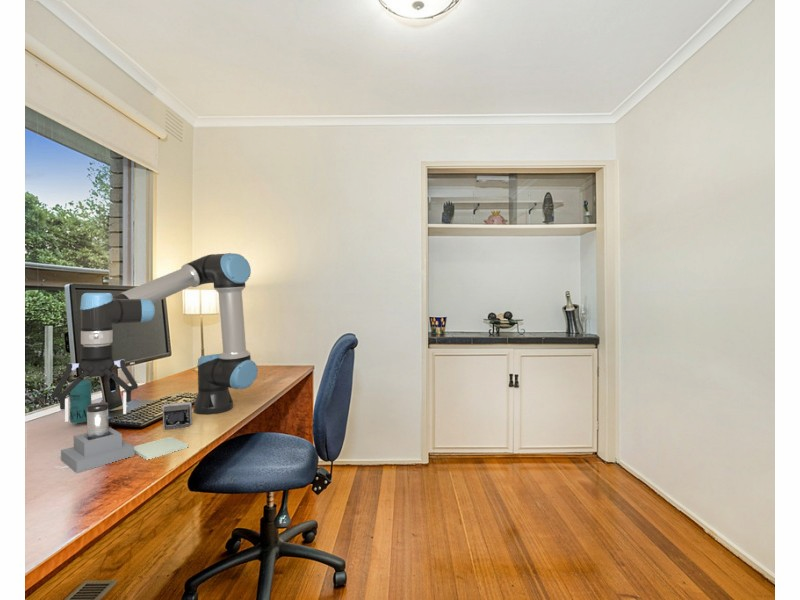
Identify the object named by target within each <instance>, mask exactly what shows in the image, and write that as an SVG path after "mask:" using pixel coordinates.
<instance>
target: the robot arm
mask: <svg viewBox="0 0 800 600" xmlns="http://www.w3.org/2000/svg"><path fill="white" fill-rule="evenodd" d="M251 274H252V273H251V265H250V262H249V261H248V260H247V258H245V256H243V255H241V254H240V253H231V252H229V253H217V254H216V253H212V254H207V255H204V256H202V257H199V258H197V259H195V260H192V261H190V262H187V263H185V264H183V265H182V266H181V268H180V269H177V270H175V271H172V272H169V273H166V274H165V275H163V276H160V277H157V278H155V279H153V280H152V279H151V280H150V281H147V282H145V283H143V284H140V285H137V286H135V287H132V288H130V289H127V290H125V291H122V292H120V293H118V294H115V295H113V294H112V293H111V292H85V293H83V294H82V295H81V298H80V306H79V310H80V345H82V346H81V347H80V362H79V363H74V362H70V361H69V362H68V363H67V364H66V367H65V372H64V373H63V375H62V377H61V378H60V380H59V382H58V384H57V385H56V386H55V388H54V390H53V392H52V393H51V397H52V398H57V399H59V410H61V411H63V410H64V423H65V422H66V423H67V422H70V392H71V391H72V390H73V389H74V388H75V387H76V386H77V385H78V384H79V383H80V382H81V381H82V380H83V379H85V378H86V376H87V377H88V378H95V377H104V376H108V377H109V378H111V379H112V380H113V381H114V382H115V383H116V384H117V385H119V386H120V387H121V388H122V389H123V391H122V392H123V394H122V395H123V397H122V403H123V405H122V407H123V408H122V410H123V411H122V413H123V415H127V403H130V402H131V401H132V391H134V390H137V389H138V388H139V385H138V383H137V381H136V380H135V378H134V377H133V375H132V374H131V372H130V370H129V369H128V367H127V365H126V359H124V358H122V359H119V360H114V359H113V355H114V354H113V351H114V349H113V345H112V343H113V340H114V339H113V331H114V329H113V327H114V326H113V325H118V324H136V323H138V324H139V323H140V324H142V323H147V322H148V323H149V322H151V321H152V320H153V319H154V317H155V313H156V307H155V303H157V302H159V301H161V300H164V299H165V298H168V297H171V296H173V295H174V294H177V293H179V292H181V291H183V290H186V289H188V288H196V287H199V286H201V285H205V284H213V289H214V290H215V291H216V292H217V293H218V302H219V303H218V305H219V314H220V315H219V316H220V328H221V329H220V330H221V331H220V332H221V340H222V353H214V354H207V355H203V356H199V358H198V361H197V395H196V398H195V400H194V403H193V413H195V414H200V415H212V414H219V413H225V412H227V411H230V410H232V409H233V407H234V401H233V398H232V395H231V392H230V389H233V390H238V389H239V390H243V389H247V388H249V387H251V385H252V384H253V383H254V381H255V380H256V379H257V376H258V373H259V372H258V371H259V370H258V369H259V368H258V366H257V363H256V362H255V361H253V360H252V359H251V358H252V357H251V352H250V351H248V350H247V345H246V344H247V343H246V328H245V318H244V317H245V316H244V305H243V303H244V302H243V290H244V289H245V288H246V282H247V281H248V280H249V277H251ZM114 366H117V367H118V368H120V369H121V371H122V373H123V374H124V375H125V377H126V379H127V380H128V382H129V383H130V385H129V384H128V383H127V382H125V380H123V379H122V378H121V377H120V376H119V375H117V374H116V372H115V371H113V370H112V368H113V367H114ZM77 368H79V370H80V371H83V373H82V374H81V375H80V376H79V377H78V378H75V379H74V380H75V381H74V380H73V381H74V382H73V381H72V382H73V383H72V382H71V383H72V384H71V383H70V384H71V385H70V384H69V386H68V387H66V389H65V390H63V392H61V390H62V388H63V386H64V385H65V384H66V382H67V380H68V378H69V376H70V375H71V374H72V372H73V371H74V372H75V371H76V369H77ZM229 388H230V389H229Z"/></svg>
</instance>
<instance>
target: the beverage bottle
mask: <svg viewBox="0 0 800 600" xmlns="http://www.w3.org/2000/svg"><path fill="white" fill-rule="evenodd" d="M78 377H79V376H76V375H74V374H73V378H74V380H73V381H72V382H70V383H69V386H70V385H71V384H72V383H73V382H74V381H75V380H76V379H77V378H78ZM86 377H88V376H86ZM86 377H85V378H86ZM85 378H84V379H83V380H82V381H81V382H80V383H79V384H78V385H77V386H76V387H75V388H74V389H73V390H72V391H71V392H70V393H69V396H70V419H69V422H70V424H71V423H72V424H80V423H81V424H82V423H85V422H86V423H87V406H88V405H90V404H92V401H93V400H92V381H91V380H90V379H87V378H86V379H85Z"/></svg>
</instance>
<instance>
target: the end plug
mask: <svg viewBox="0 0 800 600" xmlns="http://www.w3.org/2000/svg"><path fill="white" fill-rule="evenodd" d="M86 425H87V426H86V429H87V430H86V433H87V439H88V440H92V439H96V438H101V437H105V436H108V428H109V403H108V402H106V401H105V402H93V403H91V404H90V405H88V406H87V421H86Z"/></svg>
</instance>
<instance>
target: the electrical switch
mask: <svg viewBox="0 0 800 600" xmlns="http://www.w3.org/2000/svg"><path fill="white" fill-rule="evenodd" d="M192 406H193V405H192V402H190V401H187V402H175V403H164V404H162V408H161V409H162V426H163V428H164V430H165V431H169V430H177V429H178V428H179V429H185V428H186V427H188V428H189V427H190V426H191V425H192V424H193V415H192V414H193V412H192V411H193V410H192ZM186 429H187V428H186Z"/></svg>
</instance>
